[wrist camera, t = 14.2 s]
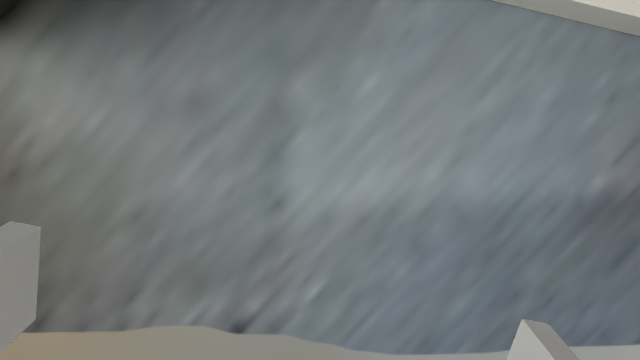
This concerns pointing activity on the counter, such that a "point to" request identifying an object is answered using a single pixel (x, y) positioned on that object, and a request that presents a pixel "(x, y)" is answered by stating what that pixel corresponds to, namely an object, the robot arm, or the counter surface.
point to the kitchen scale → (590, 12)
